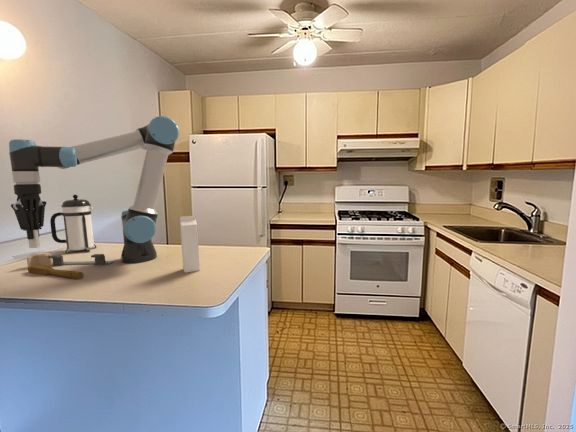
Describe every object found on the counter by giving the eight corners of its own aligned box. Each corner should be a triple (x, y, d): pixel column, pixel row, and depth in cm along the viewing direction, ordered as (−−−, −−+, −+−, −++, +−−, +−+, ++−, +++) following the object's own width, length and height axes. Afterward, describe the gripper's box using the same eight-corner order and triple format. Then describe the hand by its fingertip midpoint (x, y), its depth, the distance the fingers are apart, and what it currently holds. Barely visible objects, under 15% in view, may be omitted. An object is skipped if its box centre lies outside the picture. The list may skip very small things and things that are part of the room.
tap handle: (75, 273, 118) (25, 266, 128) (76, 280, 118) (26, 273, 129) (83, 270, 121) (33, 264, 131) (84, 278, 121) (34, 271, 132)
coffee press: (89, 246, 178) (83, 193, 174) (102, 249, 168) (97, 193, 165) (53, 252, 164) (46, 195, 160) (65, 256, 155) (58, 196, 151)
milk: (200, 270, 126) (196, 216, 123) (184, 272, 123) (180, 217, 120) (197, 266, 131) (194, 214, 128) (182, 268, 129) (179, 215, 126)
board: (113, 262, 142) (112, 249, 141) (102, 267, 133) (100, 254, 133) (42, 263, 143) (41, 251, 142) (26, 269, 134) (25, 255, 134)
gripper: (32, 183, 120) (39, 243, 123) (0, 184, 107) (8, 251, 110) (51, 183, 120) (57, 243, 123) (21, 183, 107) (29, 251, 110)
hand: (34, 247), depth 116 cm, fingers closed
